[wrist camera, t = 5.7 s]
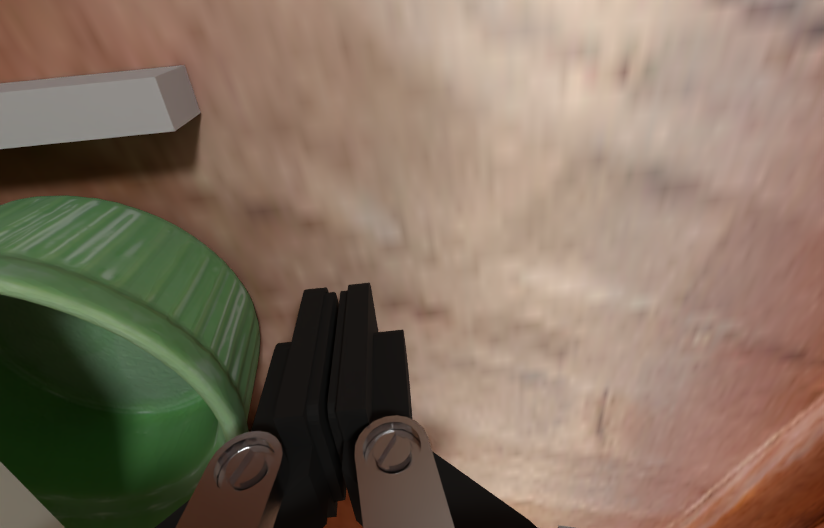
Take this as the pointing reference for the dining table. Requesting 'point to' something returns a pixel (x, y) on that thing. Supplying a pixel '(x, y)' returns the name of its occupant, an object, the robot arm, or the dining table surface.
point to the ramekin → (116, 359)
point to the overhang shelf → (77, 121)
